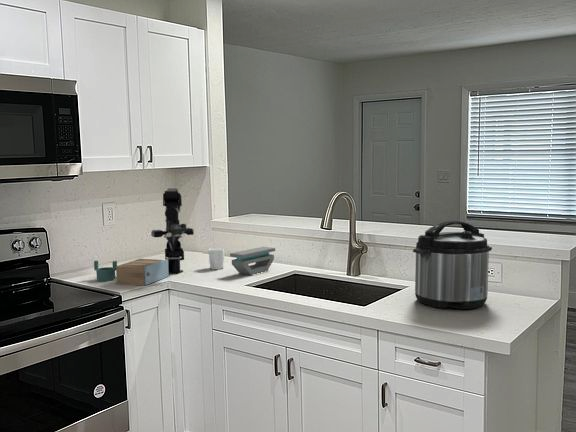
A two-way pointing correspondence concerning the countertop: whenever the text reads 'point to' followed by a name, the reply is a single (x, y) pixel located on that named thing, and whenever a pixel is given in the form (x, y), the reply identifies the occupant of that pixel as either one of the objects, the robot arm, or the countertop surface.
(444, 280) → the pressure cooker
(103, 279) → the bracket
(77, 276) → the countertop surface
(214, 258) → the white cup
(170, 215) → the robot arm
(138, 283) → the walnut cabinet
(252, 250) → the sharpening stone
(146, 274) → the cabinet door
